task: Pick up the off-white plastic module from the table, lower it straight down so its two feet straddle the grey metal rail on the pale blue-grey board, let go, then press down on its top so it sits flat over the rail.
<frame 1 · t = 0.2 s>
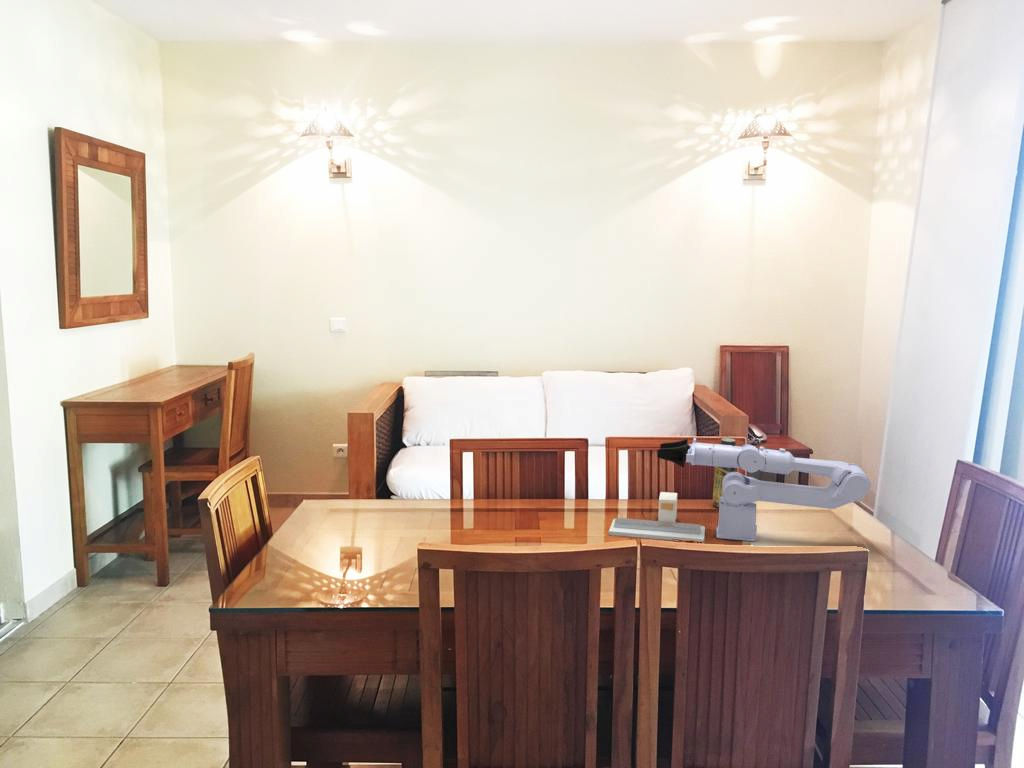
hand: (659, 450, 207), 21 cm above the table, tool horizontal, fingers open, 7 cm apart
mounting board: (657, 532, 207), on the table
sauce bottle: (724, 507, 229), on the table
metal rail: (657, 525, 207), on the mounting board, point 1 cm above the table
module: (667, 520, 216), on the table
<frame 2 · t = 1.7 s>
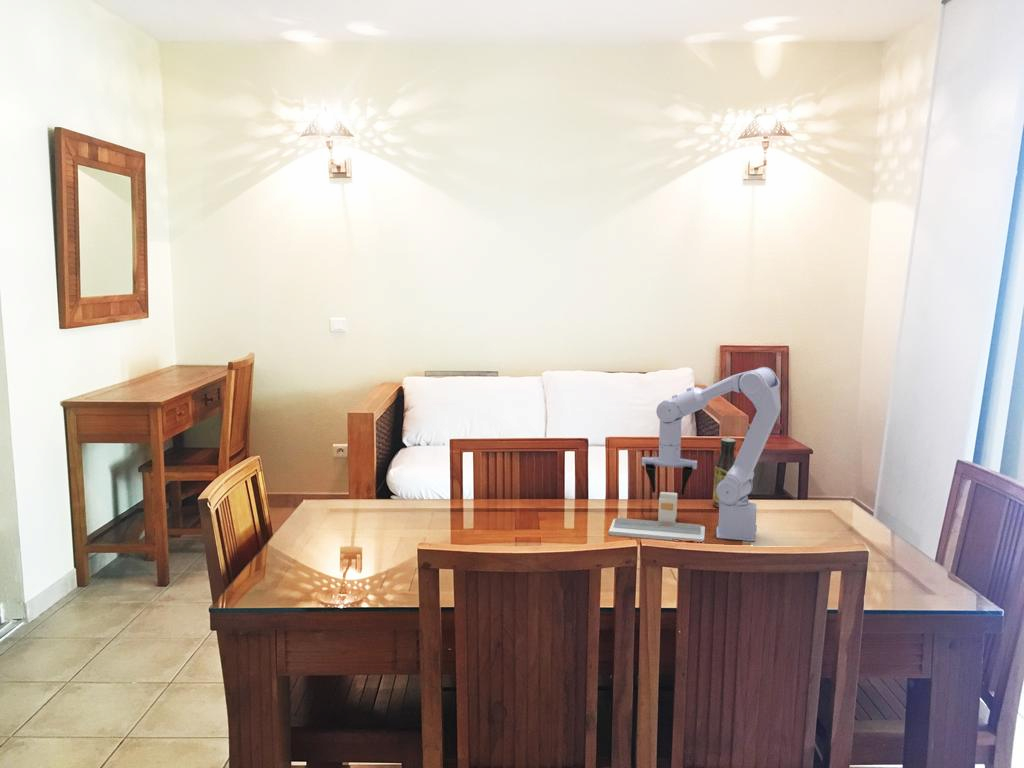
hand: (668, 492, 215), 8 cm above the table, tool pointing down, fingers open, 7 cm apart
nothing on the table moved.
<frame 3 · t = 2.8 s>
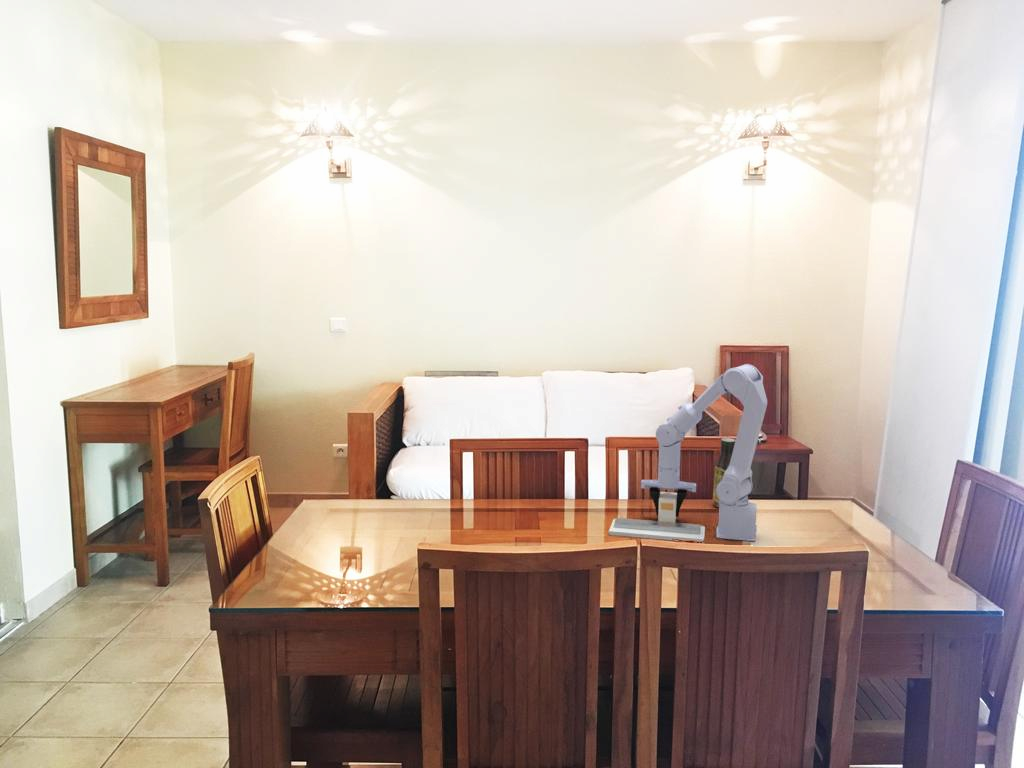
hand: (667, 515, 216), 2 cm above the table, tool pointing down, fingers closed on module, 4 cm apart
module: (667, 520, 216), on the table, touching gripper
everything else where it was.
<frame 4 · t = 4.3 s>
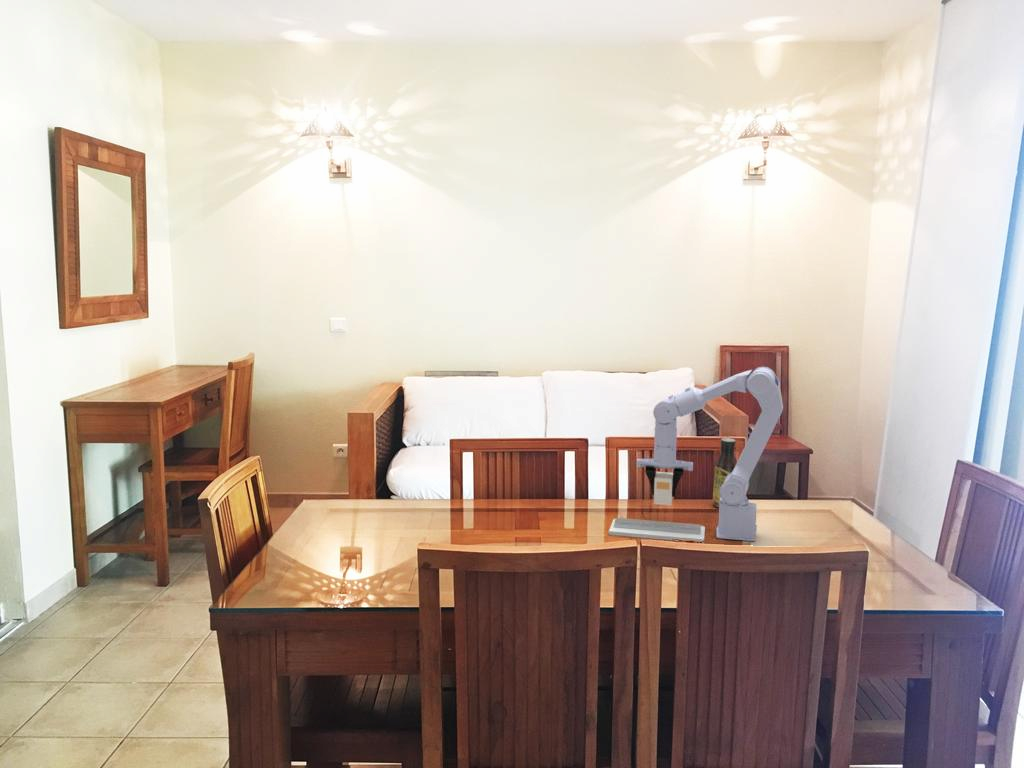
hand: (663, 494, 211), 9 cm above the table, tool pointing down, fingers closed on module, 4 cm apart
module: (663, 501, 211), point 7 cm above the table, touching gripper
everything else where it was.
when the fingers open (4 cm above the table, at t = 6.0 s): module stays where it is, resting on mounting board.
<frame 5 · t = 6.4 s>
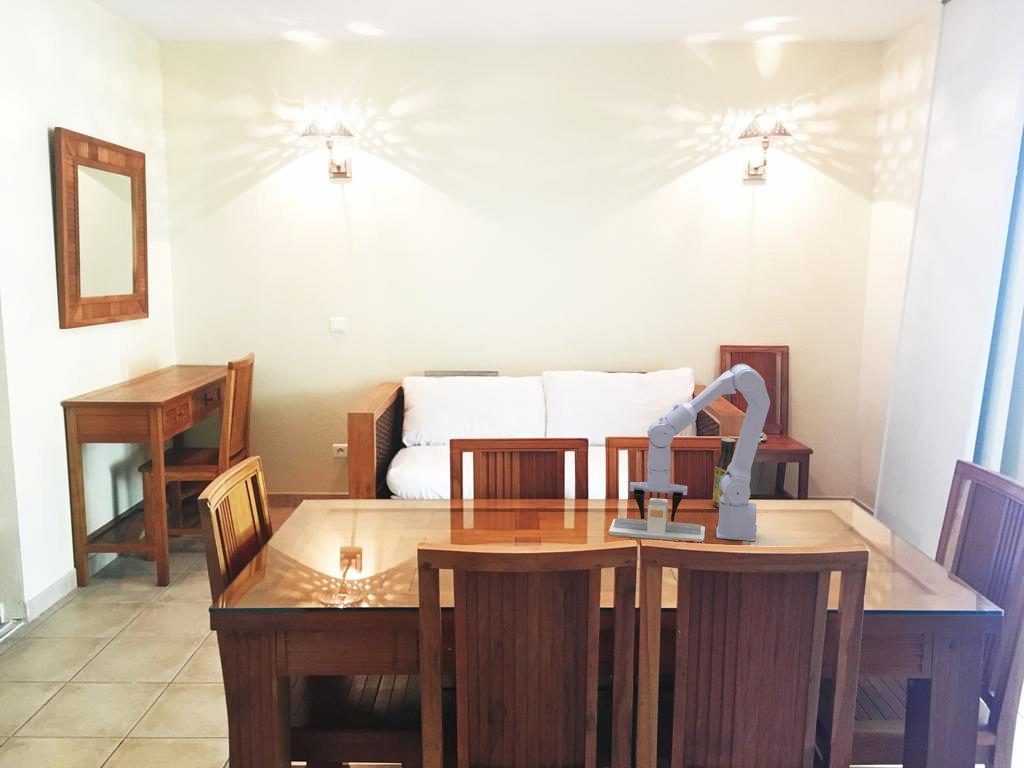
hand: (657, 519, 207), 4 cm above the table, tool pointing down, fingers open, 7 cm apart
module: (657, 528, 207), point 1 cm above the table, touching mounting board
everything else where it was.
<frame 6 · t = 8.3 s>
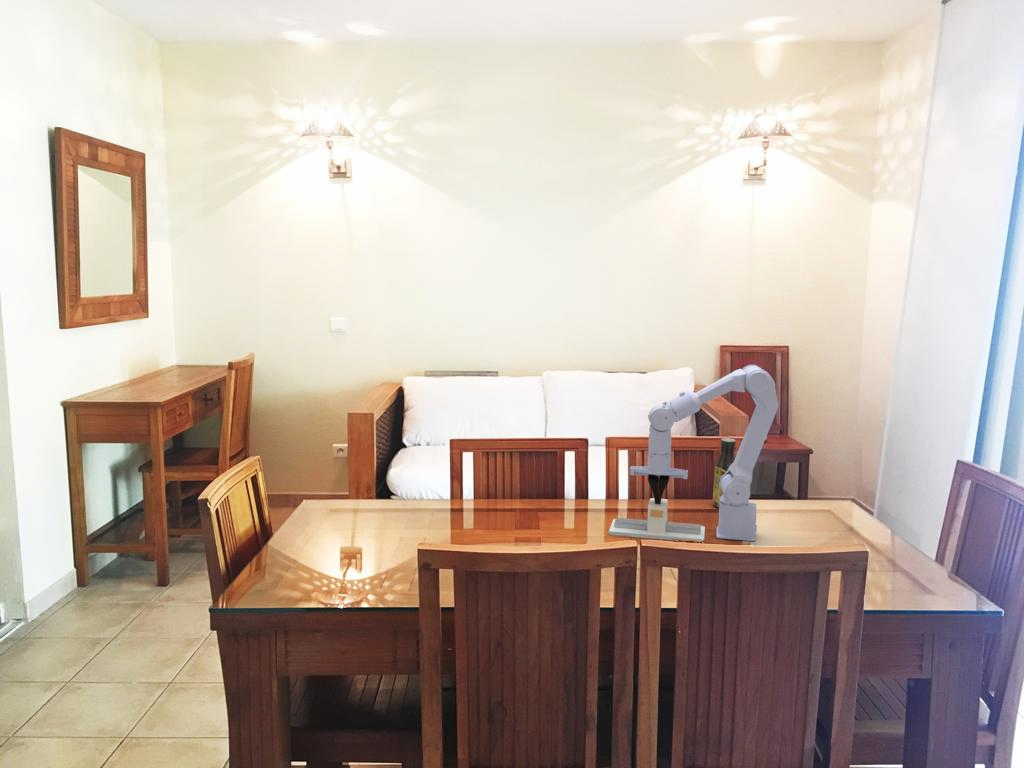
hand: (657, 503, 206), 8 cm above the table, tool pointing down, fingers closed, pressing on module
module: (657, 528, 207), point 1 cm above the table, touching gripper, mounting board
everything else where it was.
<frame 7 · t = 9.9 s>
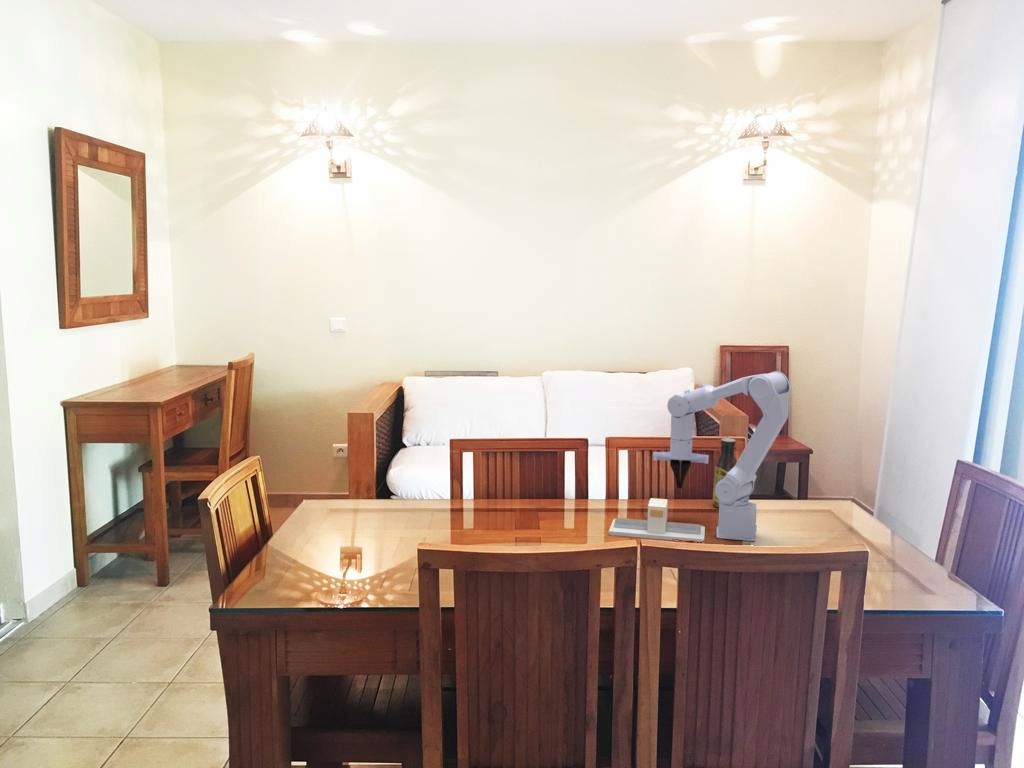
hand: (679, 487, 215), 9 cm above the table, tool pointing down, fingers closed
module: (657, 528, 207), point 1 cm above the table, touching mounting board
everything else where it was.
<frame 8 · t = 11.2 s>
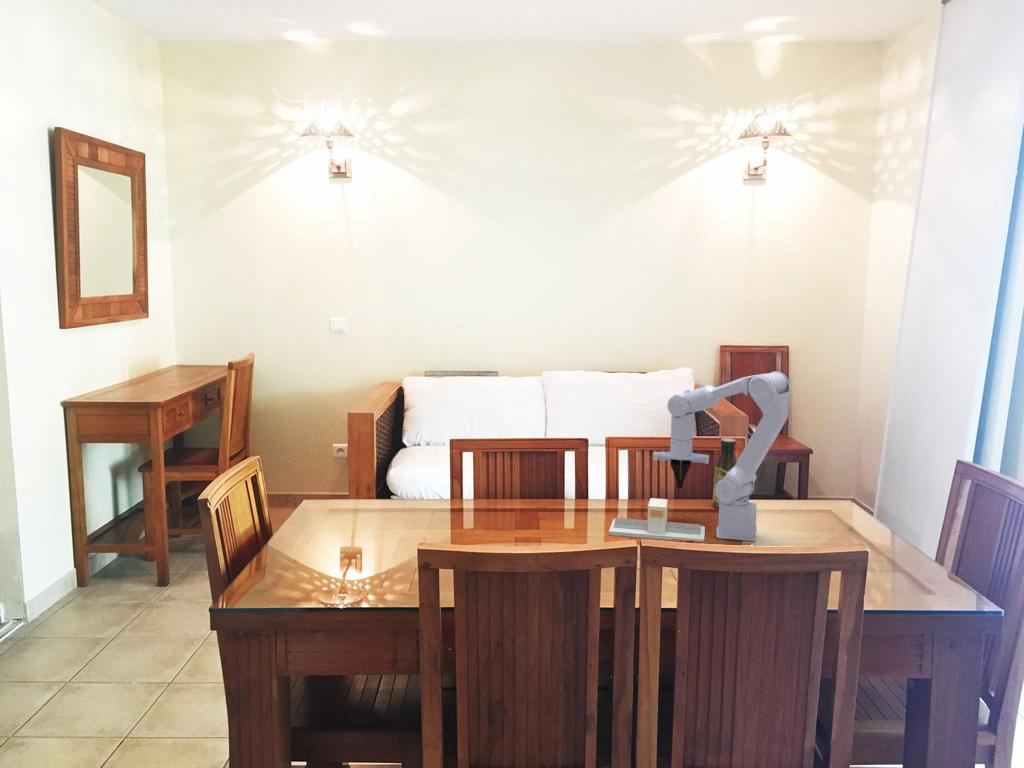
hand: (679, 487, 215), 9 cm above the table, tool pointing down, fingers closed
nothing on the table moved.
at the end: module inside the target area on the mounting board (0.2 cm from its centre), point 1.0 cm above the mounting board's base; module tilted 0°; the gripper is holding nothing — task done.
